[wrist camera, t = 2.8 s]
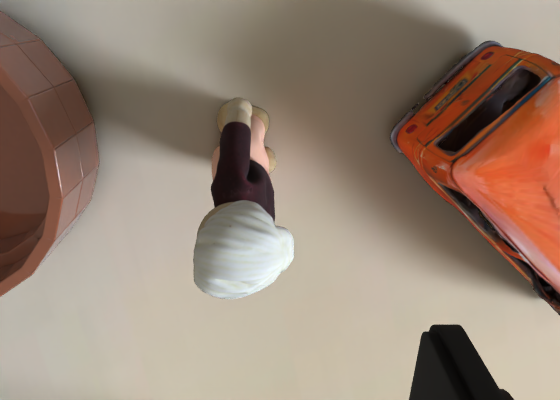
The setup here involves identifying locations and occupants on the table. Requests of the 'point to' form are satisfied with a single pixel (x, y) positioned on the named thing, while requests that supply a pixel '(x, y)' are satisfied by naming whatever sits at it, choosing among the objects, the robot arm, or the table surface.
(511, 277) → the table surface
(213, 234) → the grandmother figurine
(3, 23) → the bowl
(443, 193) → the toy bus
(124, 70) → the table surface
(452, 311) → the table surface
